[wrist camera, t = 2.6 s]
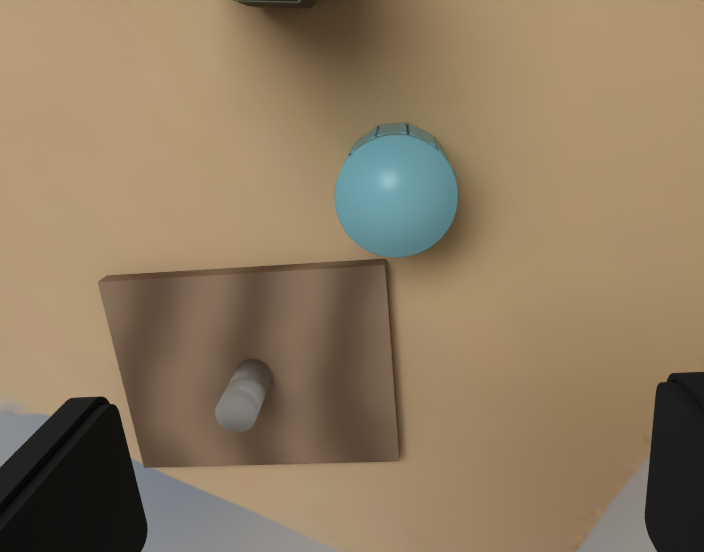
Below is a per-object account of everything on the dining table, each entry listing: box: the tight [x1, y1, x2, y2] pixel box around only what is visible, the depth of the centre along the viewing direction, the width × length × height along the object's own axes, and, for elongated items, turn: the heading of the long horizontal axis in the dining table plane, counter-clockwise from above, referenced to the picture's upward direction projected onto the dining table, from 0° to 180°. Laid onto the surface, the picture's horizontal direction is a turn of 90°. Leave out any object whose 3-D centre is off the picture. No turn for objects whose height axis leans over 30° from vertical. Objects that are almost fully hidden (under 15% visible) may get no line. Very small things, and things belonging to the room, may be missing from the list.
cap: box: [335, 123, 458, 257], centre depth 31 cm, size 6×6×6 cm
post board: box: [98, 259, 399, 468], centre depth 36 cm, size 18×14×6 cm
